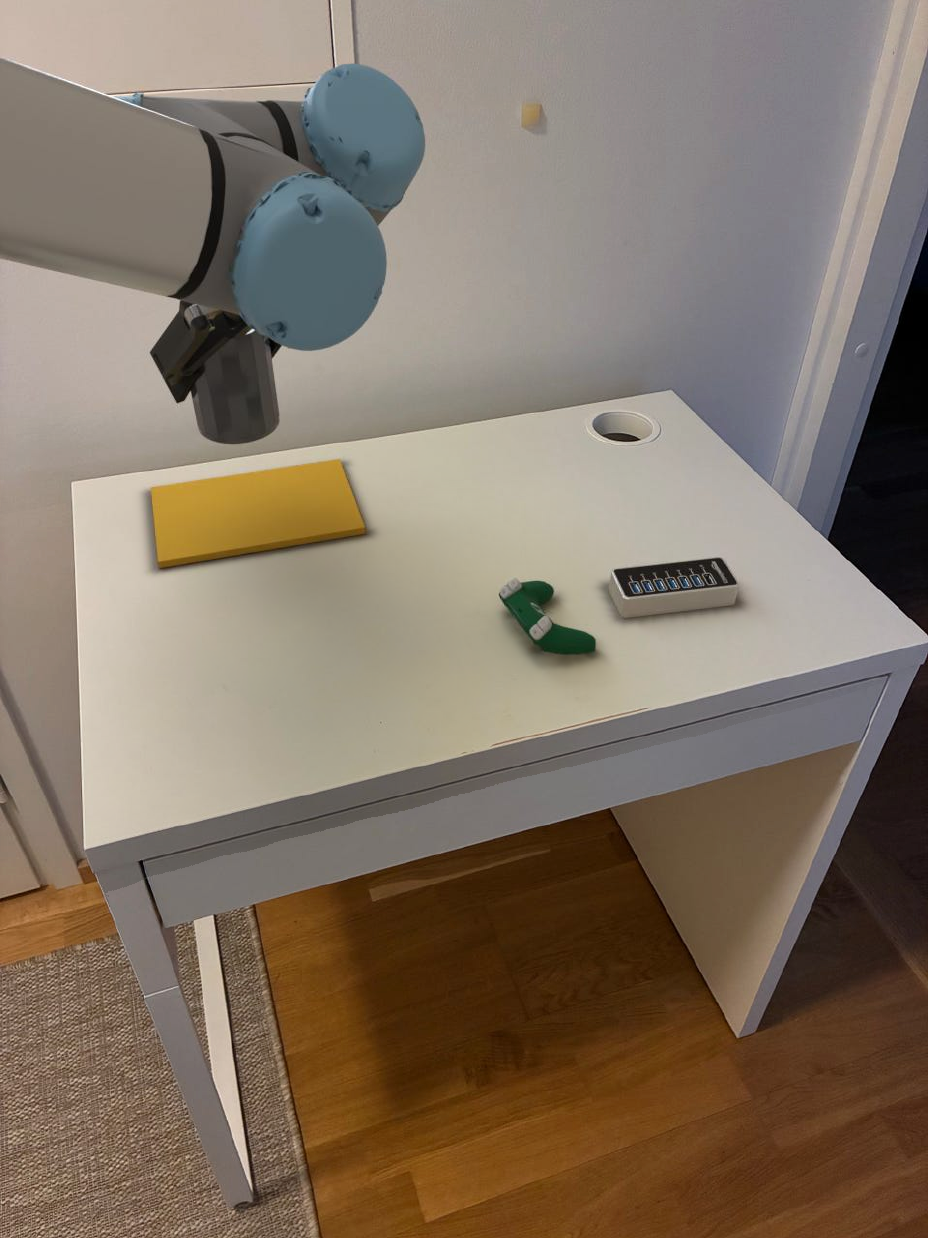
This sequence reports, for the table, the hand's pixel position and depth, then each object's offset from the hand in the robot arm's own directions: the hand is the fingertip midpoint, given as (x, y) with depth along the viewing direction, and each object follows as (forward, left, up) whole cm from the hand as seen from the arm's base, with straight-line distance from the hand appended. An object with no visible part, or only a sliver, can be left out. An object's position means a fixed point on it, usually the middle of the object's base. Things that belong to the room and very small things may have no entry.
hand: (213, 374), depth 88 cm
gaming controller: (+24, -26, -15) cm, 38 cm away
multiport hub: (+37, -25, -15) cm, 47 cm away
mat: (+2, -1, -15) cm, 15 cm away
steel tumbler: (+1, -3, -4) cm, 5 cm away
